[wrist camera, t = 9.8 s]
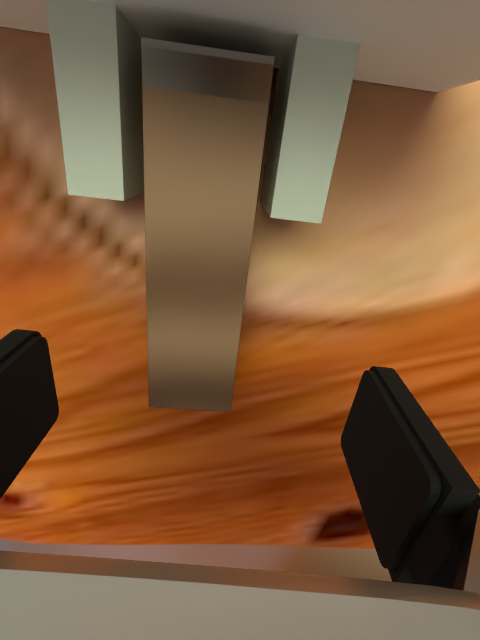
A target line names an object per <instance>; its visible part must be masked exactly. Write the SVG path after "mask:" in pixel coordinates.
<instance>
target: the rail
mask: <svg viewBox="0 0 480 640" xmlns="http://www.w3.org/2000/svg"><path fill="white" fill-rule="evenodd" d="M141 52H142V100H143V147H144V195H145V242H146V290H147V337H148V385H149V407H158V408H174V409H189V410H205V411H221V412H230V410H231V402H232V394H233V386H234V378H235V370H236V362H237V354H238V346H239V338H240V330H241V323H242V315H243V307H244V299H245V291H246V283H247V275H248V267H249V259H250V251H251V243H252V235H253V227H254V219H255V211H256V203H257V195H258V187H259V179H260V171H261V163H262V155H263V148H264V140H265V132H266V124H267V116H268V108H269V100H270V92H271V84H272V76H273V68H274V60H275V57H273V56H266V55H259V54H252V53H245V52H239V51H232V50H225V49H218V48H211V47H205V46H198V45H191V44H184V43H177V42H170V41H164V40H157V39H150V38H143V37H141Z"/></svg>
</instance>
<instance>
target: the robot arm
mask: <svg viewBox="0 0 480 640" xmlns="http://www.w3.org/2000/svg"><path fill="white" fill-rule="evenodd" d="M58 414H59V407H58V401H57V395H56V389H55V383H54V378H53V372H52V366H51V360H50V355H49V349H48V343H47V340H46V338H44V337H42V336H41V334H40V333H39V332H37V331H29V330H19V329H16V330H13V331H12V332H10V333H9V334H8V335H6V336H5V337H4V338H2V339H1V340H0V499H1V497H2V496H3V495H4V493H5V492H6V490H7V489H8V488H9V486H10V485H11V483H12V482H13V481H14V479H15V478H16V476H17V475H18V474H19V472H20V471H21V469H22V468H23V467H24V465H25V464H26V462H27V461H28V460H29V458H30V457H31V455H32V454H33V452H34V451H35V450H36V448H37V447H38V445H39V444H40V443H41V441H42V440H43V438H44V437H45V436H46V434H47V433H48V431H49V430H50V429H51V427H52V426H53V424H54V423H55V422H56V420H57V417H58ZM341 447H342V450H343V453H344V456H345V459H346V462H347V465H348V468H349V471H350V474H351V477H352V480H353V483H354V486H355V489H356V492H357V495H358V498H359V501H360V504H361V507H362V510H363V513H364V516H365V519H366V522H367V525H368V528H369V531H370V534H371V537H372V540H373V543H374V545H375V548H376V551H377V554H378V557H379V560H380V563H381V564H382V566H383V567H384V568H387V569H388V570H389V573H390V576H391V579H392V582H389V581H380V580H370V579H360V578H349V577H336V576H323V575H312V574H299V573H288V572H287V573H286V572H275V571H263V570H251V569H239V568H225V567H213V566H200V565H187V564H174V563H162V562H148V561H134V560H122V559H109V558H96V557H82V556H68V555H54V554H40V553H26V552H11V551H0V640H480V496H479V495H478V493H479V492H480V490H479V488H478V487H477V486H476V484H475V483H474V481H473V480H472V478H471V477H470V476H469V474H468V473H467V471H466V470H465V469H464V467H463V466H462V464H461V463H460V462H459V460H458V459H457V457H456V456H455V454H454V453H453V452H452V450H451V449H450V447H449V446H448V445H447V443H446V442H445V440H444V439H443V438H442V436H441V435H440V433H439V432H438V430H437V429H436V428H435V426H434V425H433V423H432V422H431V421H430V419H429V418H428V416H427V415H426V414H425V412H424V411H423V409H422V408H421V406H420V405H419V404H418V402H417V401H416V399H415V398H414V397H413V395H412V394H411V392H410V391H409V390H408V388H407V387H406V385H405V384H404V382H403V381H402V380H401V378H400V377H399V375H398V374H397V373H396V371H395V370H394V369H392V368H385V367H376V366H373V367H371V368H370V370H369V371H368V370H366V371H365V372H364V373H363V375H362V378H361V381H360V384H359V387H358V390H357V393H356V395H355V398H354V401H353V404H352V407H351V410H350V413H349V416H348V419H347V421H346V424H345V427H344V430H343V433H342V436H341Z"/></svg>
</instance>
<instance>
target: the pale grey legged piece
mask: <svg viewBox="0 0 480 640" xmlns="http://www.w3.org/2000/svg"><path fill="white" fill-rule="evenodd" d="M0 27H7V28H13V29H20V30H27V31H33V32H40V33H47V34H50V42H51V50H52V59H53V68H54V76H55V85H56V94H57V102H58V111H59V120H60V128H61V137H62V146H63V154H64V163H65V172H66V180H67V189H68V195H76V196H85V197H94V198H102V199H111V200H120V201H125V200H127V199H129V198H132V197H134V196H136V195H139V194H141V193H143V192H144V147H143V100H142V52H141V37H143V38H150V39H157V40H164V41H170V42H177V43H184V44H191V45H198V46H205V47H211V48H218V49H225V50H232V51H239V52H245V53H252V54H259V55H266V56H273V57H275V60H274V68H279V69H278V77H277V84H276V91H275V99H274V106H273V113H272V121H271V128H270V136H269V143H268V150H267V158H266V165H265V173H264V180H263V187H262V195H261V204H262V205H263V207H264V209H265V210H266V212H267V213H268V215H269V216H270V218H277V219H286V220H294V221H303V222H312V223H321V222H322V218H323V213H324V209H325V204H326V199H327V195H328V190H329V186H330V181H331V177H332V172H333V168H334V163H335V159H336V154H337V150H338V145H339V141H340V136H341V132H342V127H343V123H344V118H345V114H346V109H347V105H348V100H349V95H350V91H351V86H352V82H353V80H359V81H365V82H372V83H379V84H385V85H392V86H399V87H405V88H412V89H419V90H425V91H432V92H441V91H444V90H448V89H451V88H454V87H458V86H461V85H465V84H468V83H471V82H475V81H478V80H480V0H0Z"/></svg>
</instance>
